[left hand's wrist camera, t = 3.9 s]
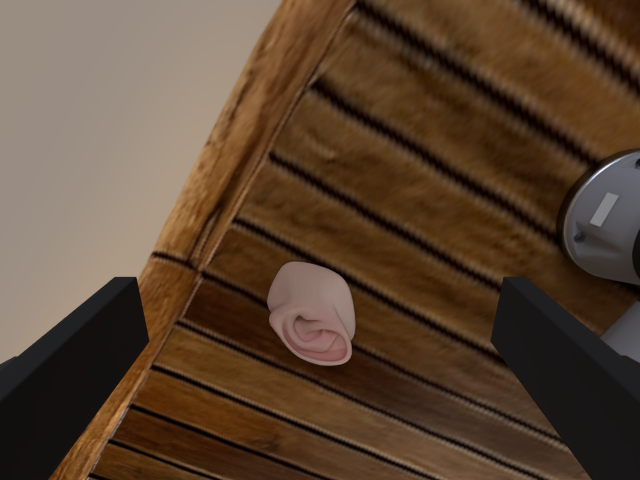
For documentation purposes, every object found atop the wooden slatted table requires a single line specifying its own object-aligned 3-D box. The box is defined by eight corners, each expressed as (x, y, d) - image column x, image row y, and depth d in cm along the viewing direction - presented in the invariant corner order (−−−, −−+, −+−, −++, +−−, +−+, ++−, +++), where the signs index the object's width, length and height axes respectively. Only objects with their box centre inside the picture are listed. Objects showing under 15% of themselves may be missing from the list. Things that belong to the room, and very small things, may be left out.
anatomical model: (259, 275, 40) (361, 275, 40) (265, 261, 43) (357, 261, 43) (266, 369, 44) (356, 369, 44) (270, 349, 48) (354, 349, 48)
